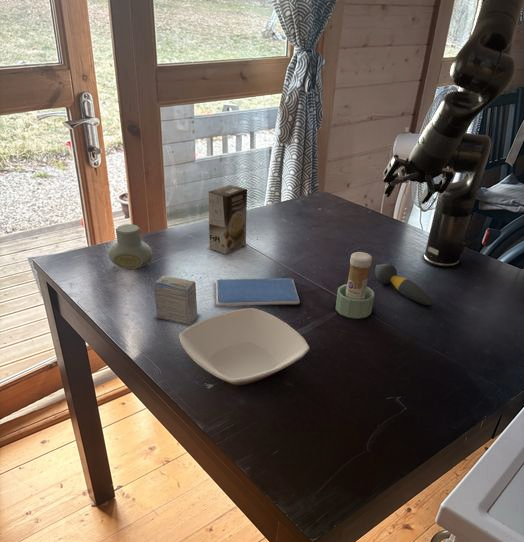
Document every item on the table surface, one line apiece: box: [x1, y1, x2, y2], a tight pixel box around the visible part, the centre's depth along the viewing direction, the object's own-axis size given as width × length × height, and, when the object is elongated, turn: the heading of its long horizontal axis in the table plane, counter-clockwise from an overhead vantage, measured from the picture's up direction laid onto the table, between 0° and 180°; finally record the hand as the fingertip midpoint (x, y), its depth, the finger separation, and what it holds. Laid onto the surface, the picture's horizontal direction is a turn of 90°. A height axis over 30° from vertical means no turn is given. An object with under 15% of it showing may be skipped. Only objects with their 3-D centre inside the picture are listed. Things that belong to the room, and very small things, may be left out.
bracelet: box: [335, 283, 375, 320], centre depth 118 cm, size 8×8×4 cm
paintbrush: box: [374, 263, 433, 306], centre depth 126 cm, size 20×5×5 cm, turn 38°
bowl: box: [178, 307, 310, 386], centre depth 99 cm, size 22×22×5 cm
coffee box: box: [208, 184, 248, 255], centre depth 141 cm, size 9×6×16 cm
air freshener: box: [108, 223, 153, 271], centre depth 131 cm, size 11×8×10 cm
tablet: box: [215, 277, 301, 307], centre depth 123 cm, size 19×13×1 cm, turn 95°
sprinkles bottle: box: [346, 251, 373, 300], centre depth 115 cm, size 5×5×13 cm
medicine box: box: [153, 275, 198, 325], centre depth 111 cm, size 8×4×9 cm, turn 71°
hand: (404, 197), depth 120 cm, fingers open, 8 cm apart
